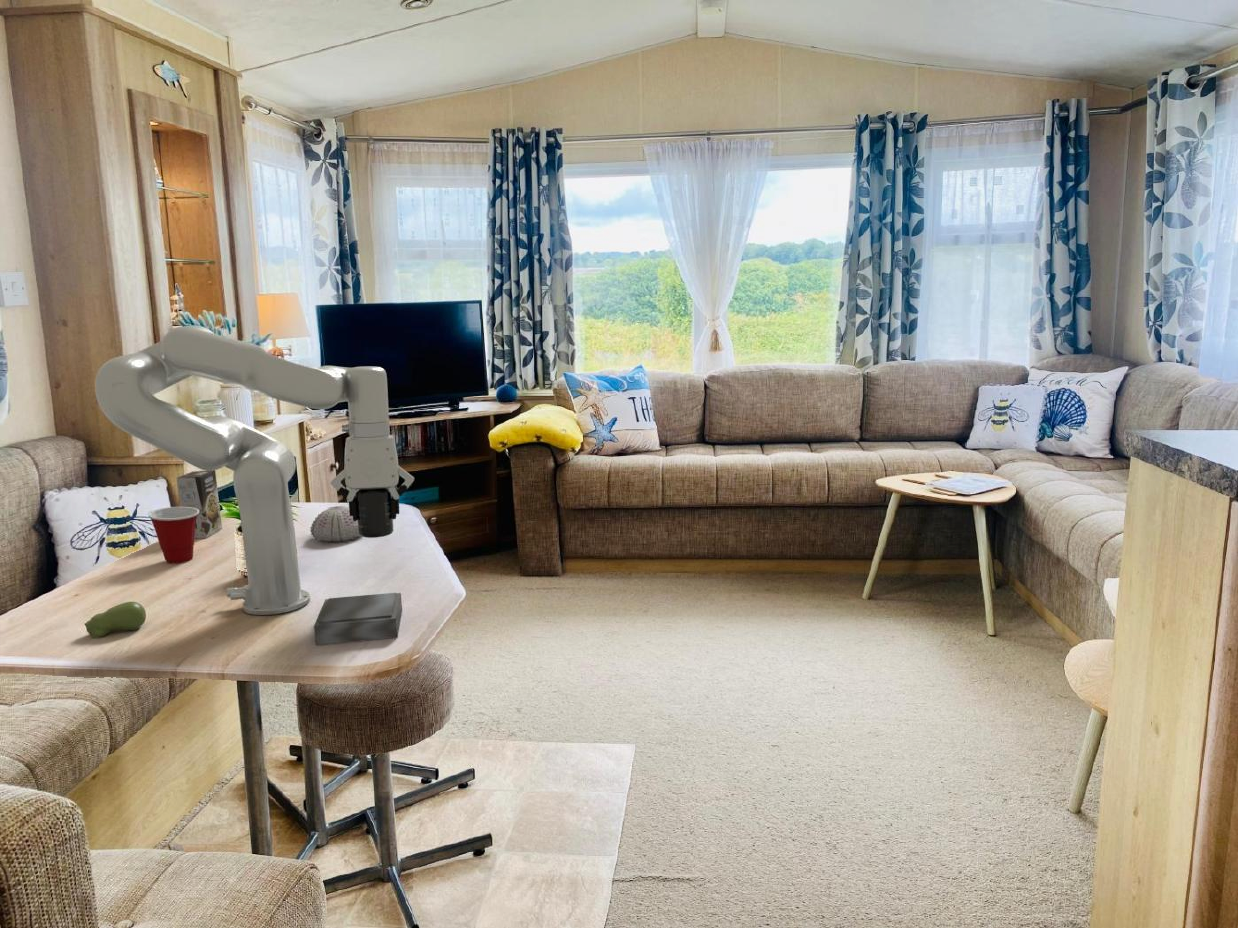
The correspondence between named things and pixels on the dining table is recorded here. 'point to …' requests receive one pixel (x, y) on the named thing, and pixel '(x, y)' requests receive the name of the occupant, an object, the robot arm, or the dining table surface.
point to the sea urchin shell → (335, 525)
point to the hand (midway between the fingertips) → (375, 517)
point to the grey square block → (358, 618)
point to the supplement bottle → (374, 512)
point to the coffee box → (201, 500)
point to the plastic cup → (175, 532)
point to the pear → (117, 619)
